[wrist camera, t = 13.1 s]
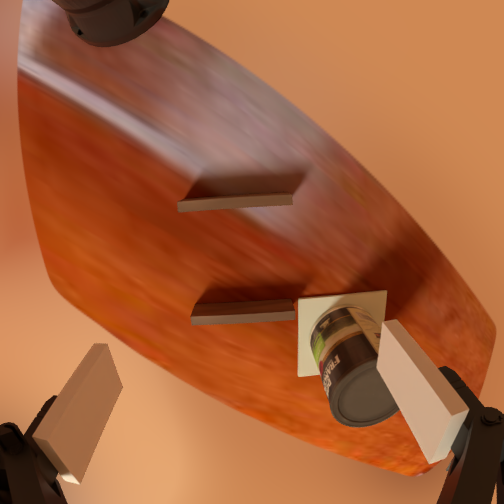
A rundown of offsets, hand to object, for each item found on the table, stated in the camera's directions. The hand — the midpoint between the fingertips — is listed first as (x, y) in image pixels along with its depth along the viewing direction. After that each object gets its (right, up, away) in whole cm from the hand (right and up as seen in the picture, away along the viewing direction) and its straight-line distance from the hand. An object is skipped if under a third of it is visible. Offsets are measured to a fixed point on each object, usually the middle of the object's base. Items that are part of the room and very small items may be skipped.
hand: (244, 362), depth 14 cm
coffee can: (+13, -7, +30) cm, 34 cm away
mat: (+13, -7, +31) cm, 34 cm away
